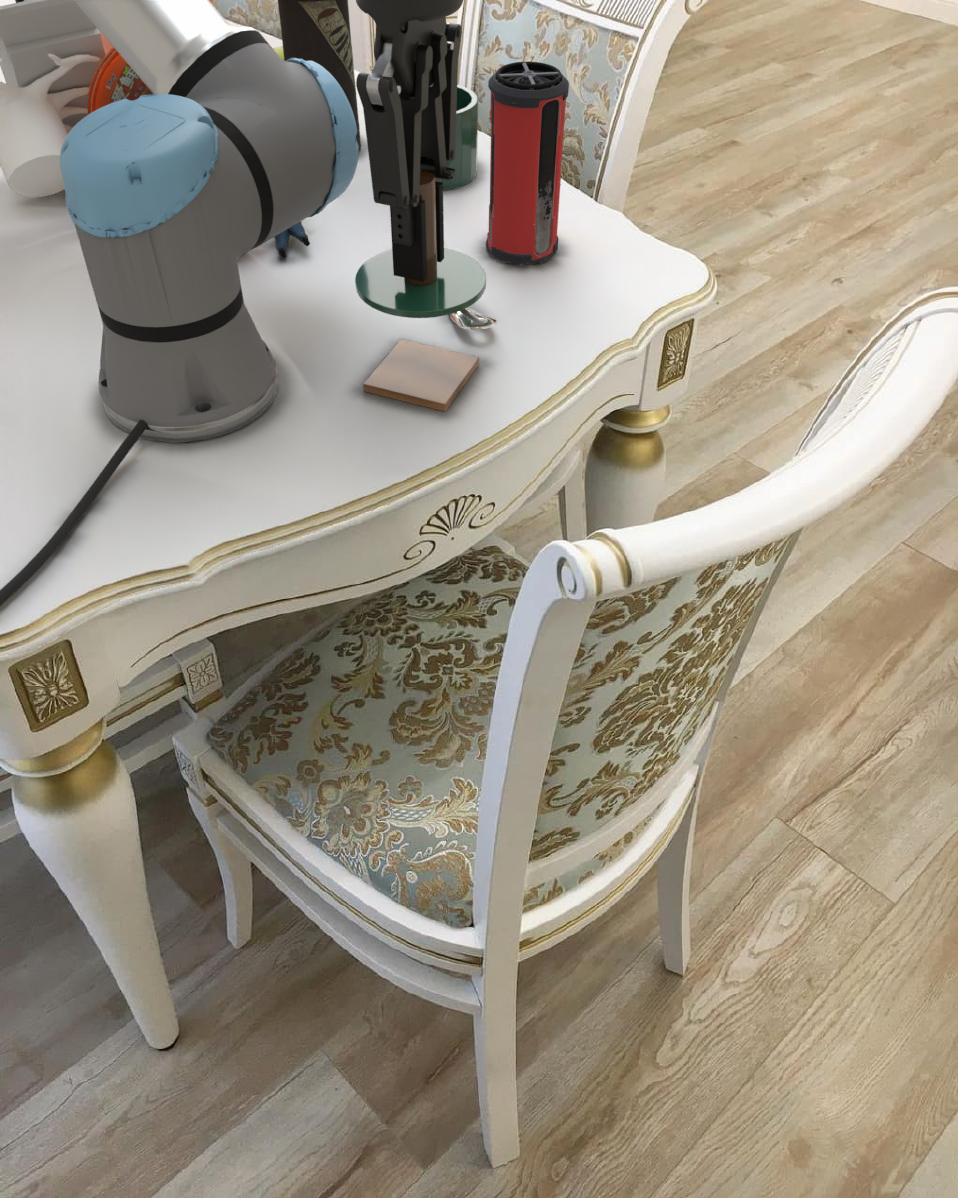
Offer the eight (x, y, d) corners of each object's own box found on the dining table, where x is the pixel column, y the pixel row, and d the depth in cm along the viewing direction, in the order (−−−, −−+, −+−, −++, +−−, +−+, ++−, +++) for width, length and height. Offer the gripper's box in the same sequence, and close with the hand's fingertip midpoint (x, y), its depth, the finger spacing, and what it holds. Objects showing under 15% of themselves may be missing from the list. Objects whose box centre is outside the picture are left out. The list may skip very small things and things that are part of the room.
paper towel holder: (455, 336, 83) (454, 220, 76) (333, 308, 86) (321, 193, 79) (504, 273, 90) (508, 161, 83) (390, 249, 93) (384, 139, 86)
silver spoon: (509, 301, 96) (463, 311, 95) (509, 336, 98) (464, 347, 97) (426, 222, 109) (384, 230, 108) (428, 254, 112) (387, 263, 110)
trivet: (445, 411, 91) (445, 404, 90) (363, 391, 93) (362, 383, 92) (479, 364, 96) (479, 357, 95) (401, 346, 98) (400, 338, 97)
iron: (-5, 46, 104) (-62, -97, 103) (34, 159, 127) (-12, 43, 127) (102, 23, 107) (48, -116, 106) (121, 138, 130) (76, 24, 129)
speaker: (481, 235, 113) (483, 59, 100) (550, 231, 114) (561, 56, 101) (491, 269, 108) (494, 89, 95) (563, 265, 109) (576, 85, 96)
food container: (196, 36, 106) (138, -8, 110) (108, 167, 108) (54, 119, 112) (284, 120, 120) (230, 78, 124) (205, 233, 123) (154, 189, 127)
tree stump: (63, 166, 129) (88, 225, 129) (-98, 155, 114) (-70, 222, 114) (137, 61, 116) (165, 127, 115) (-35, 34, 101) (-3, 109, 101)
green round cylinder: (456, 197, 120) (456, 122, 113) (375, 181, 122) (370, 107, 116) (489, 162, 126) (491, 89, 120) (412, 148, 129) (409, 76, 123)
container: (351, 166, 125) (337, -20, 111) (280, 159, 126) (257, -26, 112) (371, 137, 131) (359, -43, 117) (303, 130, 132) (283, -49, 118)
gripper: (406, -92, 75) (417, 218, 92) (300, -33, 65) (334, 303, 82) (502, -81, 74) (495, 233, 90) (409, -19, 63) (421, 322, 80)
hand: (419, 266), depth 86 cm, fingers closed on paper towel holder, 3 cm apart
